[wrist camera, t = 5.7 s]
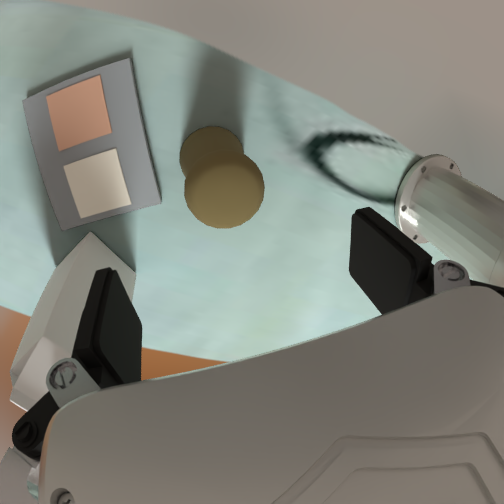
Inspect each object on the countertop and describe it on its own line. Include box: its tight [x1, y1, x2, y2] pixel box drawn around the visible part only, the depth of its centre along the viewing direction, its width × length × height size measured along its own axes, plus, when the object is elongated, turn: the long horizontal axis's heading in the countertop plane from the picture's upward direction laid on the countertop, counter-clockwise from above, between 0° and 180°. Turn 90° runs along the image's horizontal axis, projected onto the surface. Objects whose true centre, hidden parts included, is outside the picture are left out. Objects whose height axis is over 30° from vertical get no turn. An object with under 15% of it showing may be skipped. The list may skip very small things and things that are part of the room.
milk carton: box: [10, 232, 136, 411], centre depth 22 cm, size 7×7×19 cm
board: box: [23, 58, 162, 231], centre depth 23 cm, size 11×14×1 cm
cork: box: [180, 126, 265, 228], centre depth 22 cm, size 6×6×11 cm
